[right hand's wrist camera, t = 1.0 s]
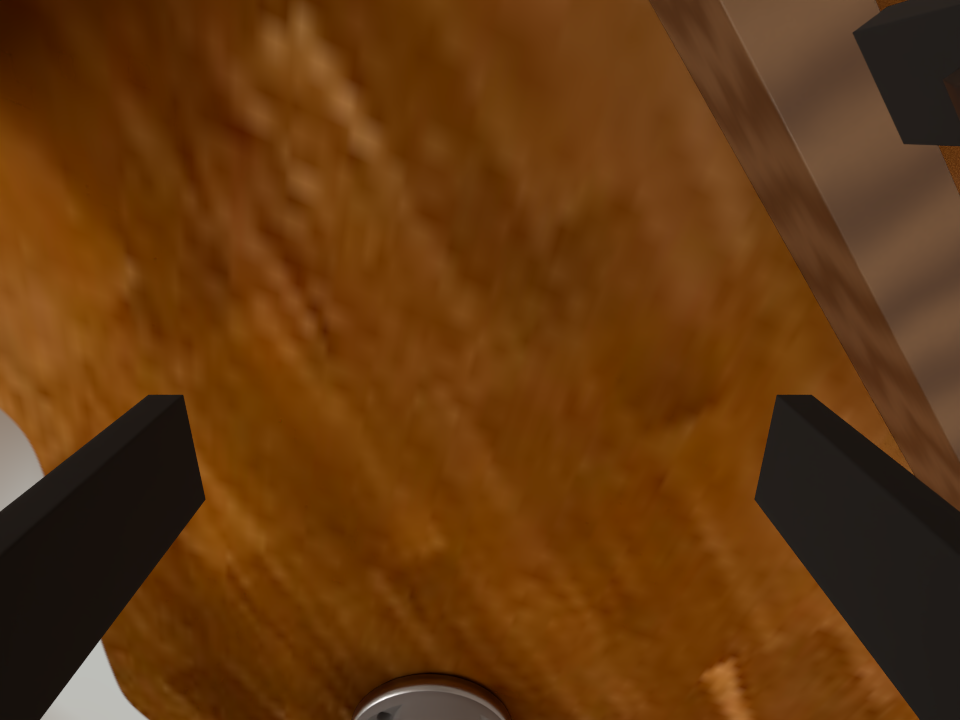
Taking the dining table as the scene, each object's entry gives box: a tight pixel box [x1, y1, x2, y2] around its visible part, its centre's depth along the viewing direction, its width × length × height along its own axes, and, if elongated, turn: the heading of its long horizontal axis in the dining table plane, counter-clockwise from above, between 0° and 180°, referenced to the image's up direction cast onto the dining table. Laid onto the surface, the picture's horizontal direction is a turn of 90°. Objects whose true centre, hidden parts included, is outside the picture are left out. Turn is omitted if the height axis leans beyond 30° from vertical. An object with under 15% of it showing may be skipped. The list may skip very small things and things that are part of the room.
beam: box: [649, 0, 960, 511], centre depth 35 cm, size 54×5×8 cm, turn 37°
